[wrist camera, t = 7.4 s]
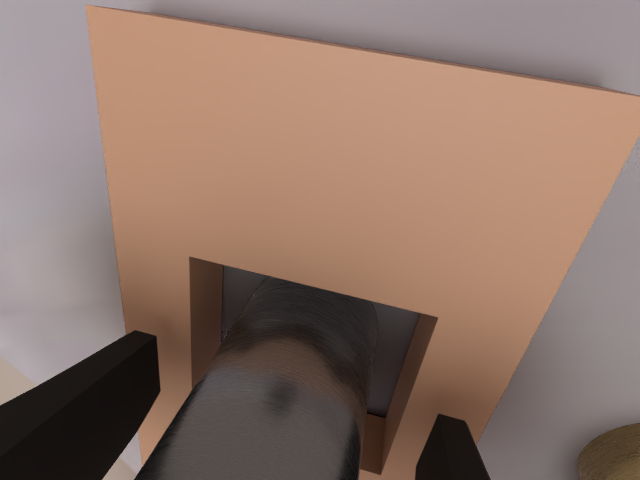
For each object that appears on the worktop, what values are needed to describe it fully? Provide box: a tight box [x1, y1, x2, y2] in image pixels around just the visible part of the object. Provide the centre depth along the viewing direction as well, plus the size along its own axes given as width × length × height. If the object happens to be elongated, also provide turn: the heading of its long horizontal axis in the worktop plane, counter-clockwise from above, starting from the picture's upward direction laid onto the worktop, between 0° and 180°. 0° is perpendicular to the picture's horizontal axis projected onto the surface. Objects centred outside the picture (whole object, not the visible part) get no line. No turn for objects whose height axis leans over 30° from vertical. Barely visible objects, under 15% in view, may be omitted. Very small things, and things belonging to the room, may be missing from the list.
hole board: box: [86, 5, 640, 480], centre depth 11 cm, size 16×10×2 cm, turn 172°
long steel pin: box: [134, 276, 378, 480], centre depth 9 cm, size 4×4×7 cm
